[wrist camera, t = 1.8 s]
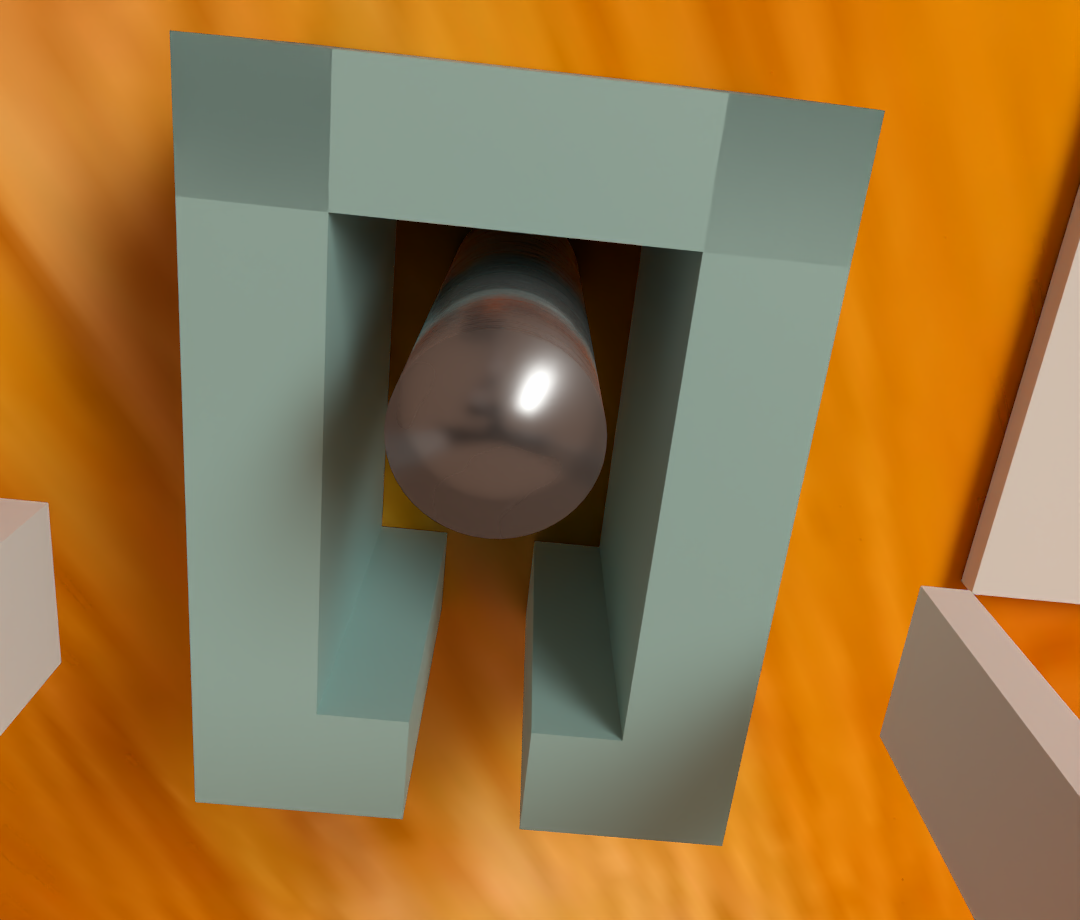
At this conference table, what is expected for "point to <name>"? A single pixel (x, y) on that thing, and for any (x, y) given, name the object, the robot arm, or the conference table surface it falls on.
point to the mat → (1039, 459)
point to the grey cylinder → (500, 392)
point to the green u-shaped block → (362, 400)
